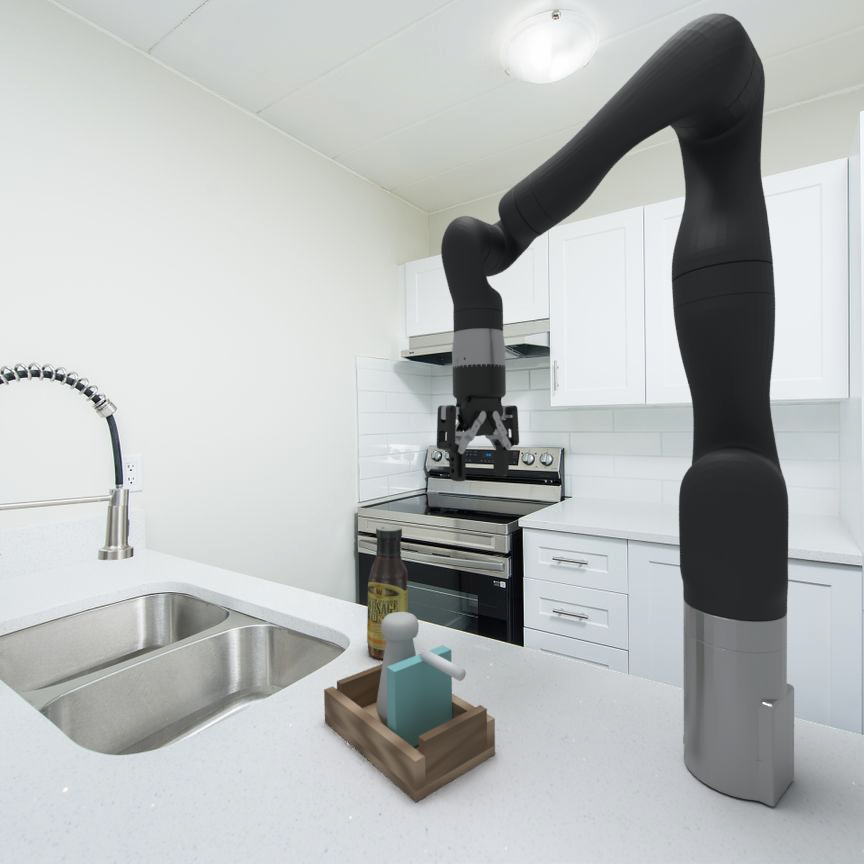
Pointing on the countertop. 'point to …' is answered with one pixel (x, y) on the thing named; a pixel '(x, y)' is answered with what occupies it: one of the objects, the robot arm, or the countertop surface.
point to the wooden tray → (403, 764)
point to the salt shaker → (395, 650)
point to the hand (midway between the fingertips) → (480, 478)
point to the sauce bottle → (385, 586)
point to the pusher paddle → (421, 693)
